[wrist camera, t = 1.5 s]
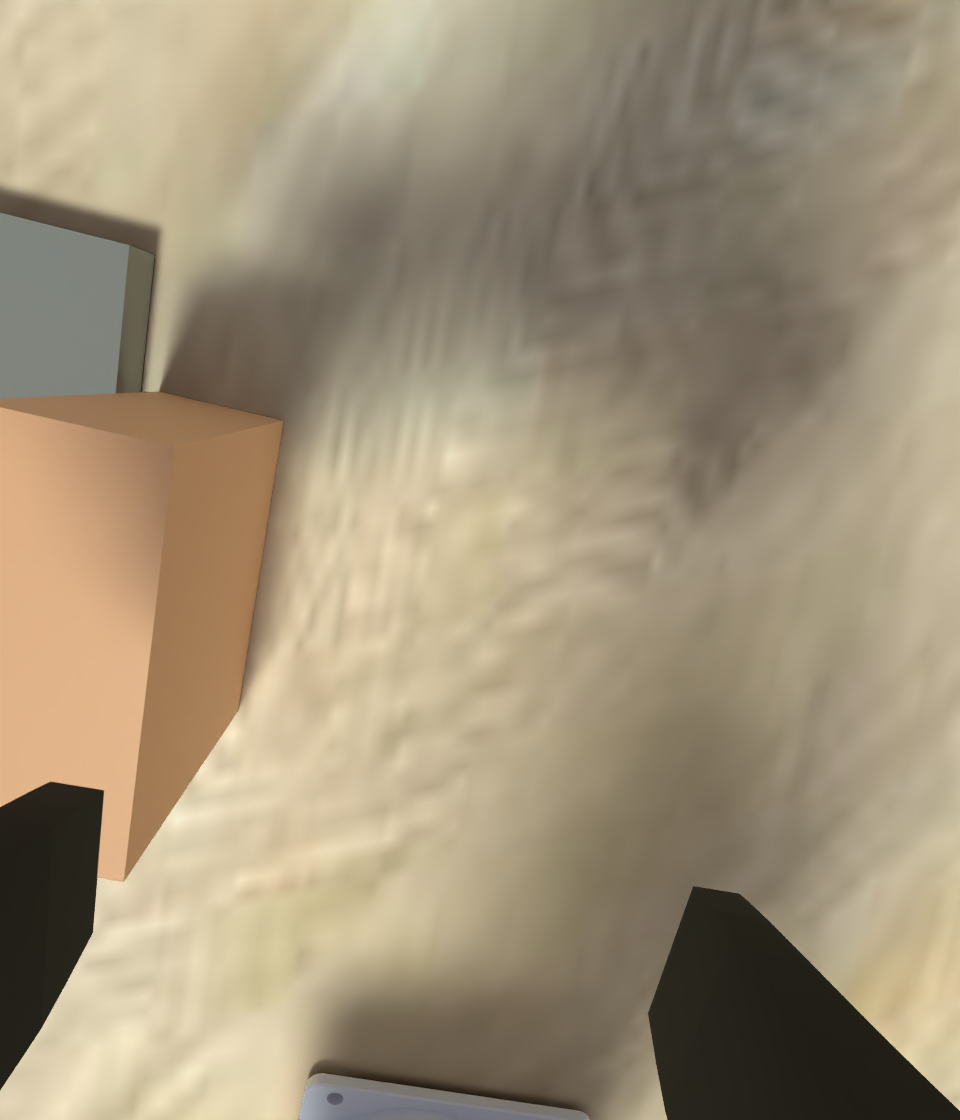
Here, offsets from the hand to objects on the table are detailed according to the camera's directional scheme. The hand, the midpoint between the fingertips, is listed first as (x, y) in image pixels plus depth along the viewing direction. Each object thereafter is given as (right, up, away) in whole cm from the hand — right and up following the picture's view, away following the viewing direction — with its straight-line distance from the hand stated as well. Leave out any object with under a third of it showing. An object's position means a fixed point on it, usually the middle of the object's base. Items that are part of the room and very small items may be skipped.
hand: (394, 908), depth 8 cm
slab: (-6, +4, +9) cm, 12 cm away
